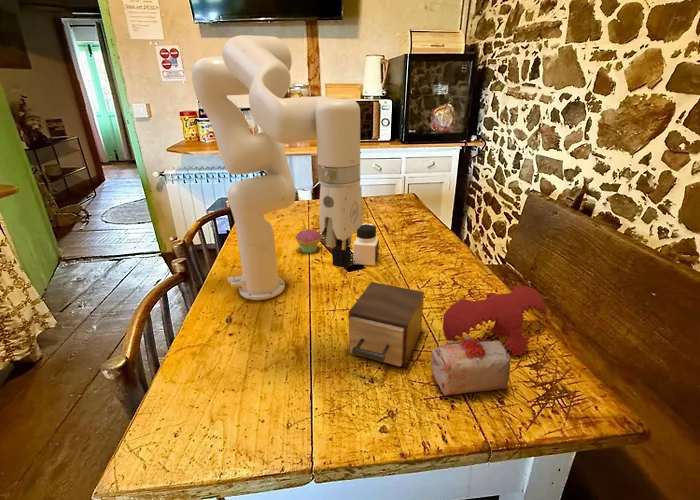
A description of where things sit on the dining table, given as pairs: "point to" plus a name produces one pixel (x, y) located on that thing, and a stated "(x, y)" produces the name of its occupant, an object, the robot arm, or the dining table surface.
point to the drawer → (376, 340)
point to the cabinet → (392, 311)
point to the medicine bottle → (366, 245)
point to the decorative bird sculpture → (495, 316)
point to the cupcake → (308, 239)
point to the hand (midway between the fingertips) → (341, 265)
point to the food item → (470, 366)
